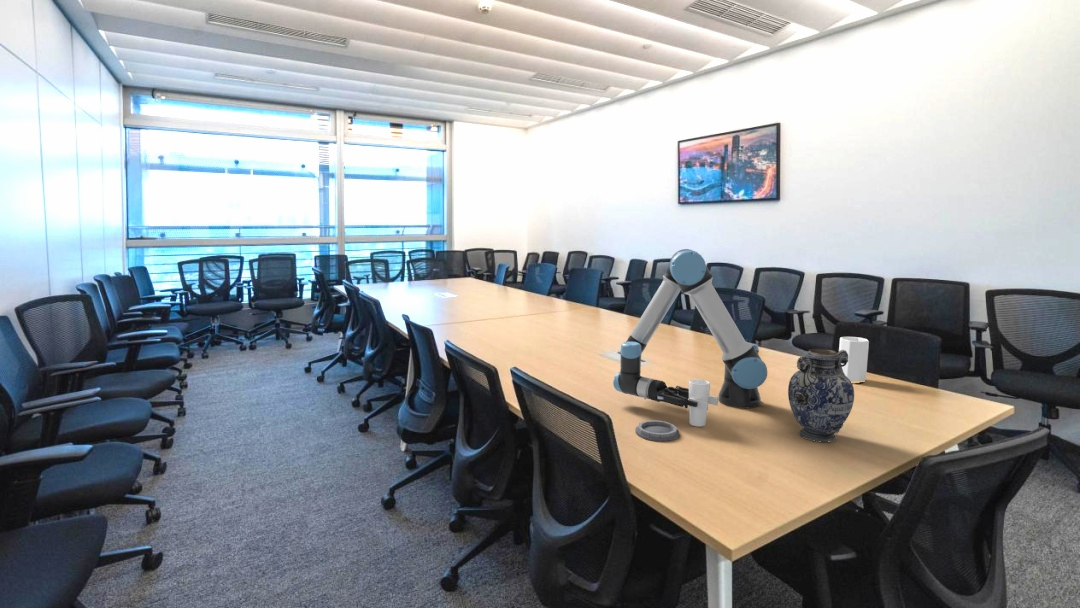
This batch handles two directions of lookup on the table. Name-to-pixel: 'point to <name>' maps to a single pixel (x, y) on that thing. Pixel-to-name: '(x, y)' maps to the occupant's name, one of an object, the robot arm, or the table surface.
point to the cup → (855, 357)
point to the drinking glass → (700, 392)
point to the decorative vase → (821, 394)
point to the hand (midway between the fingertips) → (712, 403)
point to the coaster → (657, 431)
